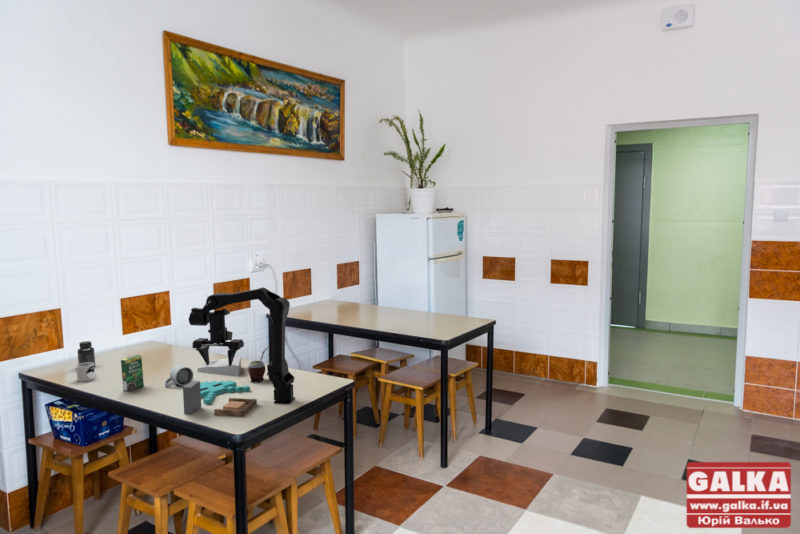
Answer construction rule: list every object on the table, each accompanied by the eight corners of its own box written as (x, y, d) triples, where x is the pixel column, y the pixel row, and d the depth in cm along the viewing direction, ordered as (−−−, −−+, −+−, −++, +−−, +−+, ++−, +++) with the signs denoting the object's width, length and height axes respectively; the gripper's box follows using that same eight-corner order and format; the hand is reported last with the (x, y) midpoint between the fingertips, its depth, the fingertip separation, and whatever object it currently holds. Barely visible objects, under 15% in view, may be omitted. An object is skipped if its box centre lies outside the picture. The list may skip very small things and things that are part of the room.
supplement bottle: (76, 368, 271) (74, 342, 269) (91, 364, 276) (90, 339, 274) (82, 371, 266) (80, 345, 265) (98, 367, 271) (96, 342, 270)
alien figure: (250, 391, 238) (220, 382, 250) (249, 386, 237) (220, 377, 250) (207, 406, 222) (177, 395, 234) (206, 400, 222) (177, 389, 234)
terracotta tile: (245, 407, 220) (245, 402, 220) (238, 413, 214) (237, 407, 214) (230, 406, 221) (230, 401, 221) (223, 411, 216) (222, 406, 215)
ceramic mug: (185, 379, 253) (184, 361, 252) (194, 383, 247) (193, 365, 246) (161, 385, 246) (159, 367, 245) (169, 389, 240) (168, 371, 239)
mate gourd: (245, 380, 251) (244, 346, 249) (261, 376, 256) (260, 343, 254) (255, 384, 245) (253, 349, 244) (271, 380, 251) (270, 346, 249)
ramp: (188, 369, 268) (187, 358, 268) (218, 362, 281) (217, 351, 280) (225, 381, 251) (224, 369, 251) (255, 372, 263) (254, 360, 263)
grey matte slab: (201, 407, 219) (200, 381, 218) (191, 414, 212) (190, 387, 211) (193, 407, 220) (192, 381, 218) (184, 413, 213) (182, 387, 212)
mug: (89, 381, 251) (88, 366, 250) (74, 381, 251) (73, 366, 250) (101, 374, 261) (100, 360, 260) (86, 374, 260) (85, 360, 260)
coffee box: (126, 391, 237) (124, 360, 236) (122, 390, 239) (120, 359, 237) (144, 386, 244) (142, 355, 243) (139, 385, 246) (137, 354, 244)
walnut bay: (256, 404, 222) (256, 399, 222) (242, 416, 210) (242, 411, 209) (229, 402, 224) (229, 397, 223) (214, 415, 211) (214, 409, 211)
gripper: (249, 322, 232) (250, 360, 234) (204, 321, 235) (206, 359, 237) (236, 328, 221) (238, 368, 223) (190, 327, 224) (192, 366, 226)
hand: (219, 365), depth 228 cm, fingers open, 9 cm apart
